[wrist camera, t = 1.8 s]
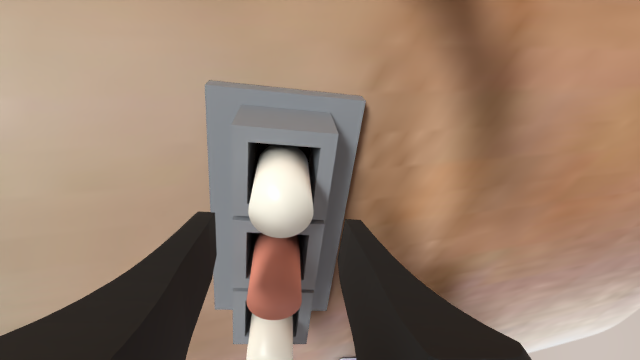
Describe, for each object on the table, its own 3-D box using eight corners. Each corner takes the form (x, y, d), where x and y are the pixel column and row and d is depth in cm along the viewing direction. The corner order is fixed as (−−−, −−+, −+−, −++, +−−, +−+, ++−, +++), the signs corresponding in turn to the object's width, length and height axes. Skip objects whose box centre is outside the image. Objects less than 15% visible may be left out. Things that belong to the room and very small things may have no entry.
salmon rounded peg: (301, 227, 20) (304, 282, 16) (297, 261, 21) (299, 320, 17) (255, 224, 20) (246, 280, 16) (254, 259, 21) (246, 320, 17)
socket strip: (361, 96, 20) (381, 120, 16) (325, 299, 28) (331, 351, 24) (209, 80, 19) (185, 101, 15) (217, 297, 27) (204, 352, 23)
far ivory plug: (294, 290, 23) (295, 352, 19) (290, 317, 24) (291, 380, 20) (253, 289, 22) (245, 352, 18) (252, 317, 23) (245, 381, 19)
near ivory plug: (310, 144, 17) (316, 186, 13) (305, 189, 19) (309, 239, 15) (258, 140, 17) (248, 181, 13) (256, 186, 18) (247, 236, 14)
